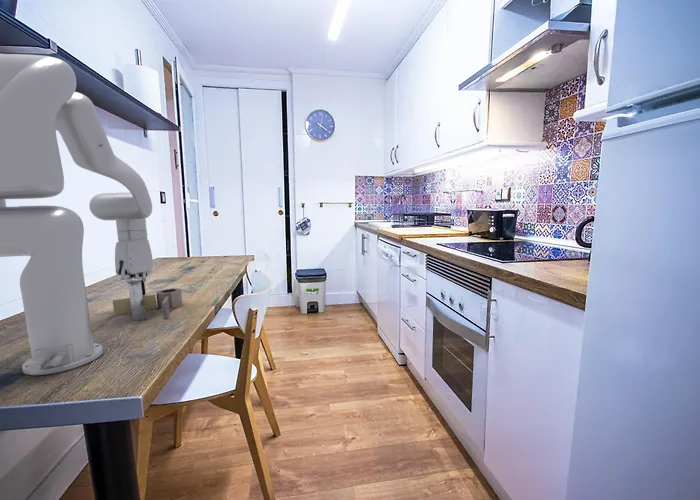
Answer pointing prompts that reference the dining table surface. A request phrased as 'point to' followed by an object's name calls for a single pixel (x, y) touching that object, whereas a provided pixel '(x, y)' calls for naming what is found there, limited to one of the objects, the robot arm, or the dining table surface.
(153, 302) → the hinge leaf
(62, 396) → the dining table surface
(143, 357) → the dining table surface
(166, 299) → the hinge leaf
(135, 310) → the pin
